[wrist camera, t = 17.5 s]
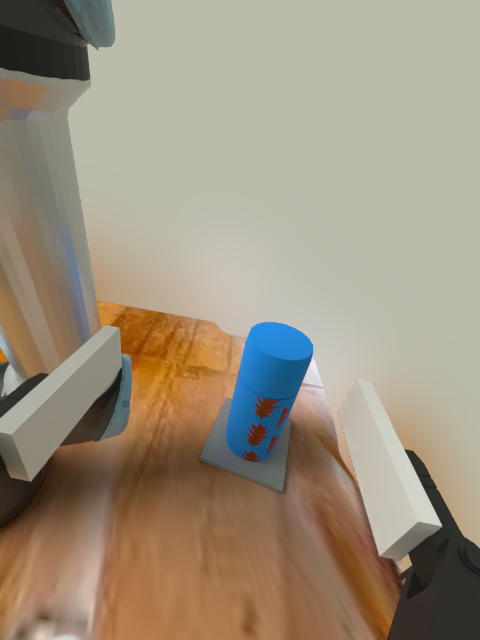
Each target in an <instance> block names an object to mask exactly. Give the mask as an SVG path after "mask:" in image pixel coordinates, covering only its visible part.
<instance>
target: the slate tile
mask: <svg viewBox="0 0 480 640" xmlns="http://www.w3.org/2000/svg"><path fill="white" fill-rule="evenodd" d="M231 403H232V399H230V398H226V400H225V402H224V405H223V407H222V409H221V411H220V413H219V416H218V418H217V420H216V422H215V424H214V427H213V429H212V431H211V433H210V435H209V438H208V440H207V442H206V444H205V446H204V448H203V451H202V453H201V455H200V458H199V460H200V461H202V462H205V463H207V464H210V465H212V466H215V467H217V468H220V469H222V470H225V471H227V472H230V473H232V474H235V475H237V476H239V477H242V478H244V479H247V480H249V481H252V482H254V483H257V484H259V485H262V486H264V487H267V488H269V489H272V490H274V491H276V492H279V493H282V491H283V486H284V478H285V470H286V463H287V455H288V447H289V439H290V431H291V423H292V420H289V419H287V421H286V423H285V426H284V428H283V431H282V433H281V436H280V438H279V440H278V442H277V444H276V446H275V448H274V450H273V451H272V453H271V454H270V456H269V457H267V458H265V459H264V460H262V461H256V462H252V461H247V460H243V459H242V458H240V457H238V456H236V455H235V454H234V453H233V452H232V451H231V449H230V448H229V446H228V444H227V441H226V427H227V420H228V416H229V412H230V407H231Z"/></svg>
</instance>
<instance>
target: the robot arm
mask: <svg viewBox="0 0 480 640" xmlns="http://www.w3.org/2000/svg"><path fill="white" fill-rule="evenodd" d="M114 28H115V27H114V17H113V12H112V5H111V0H0V347H1V349H2V351H3V352H4V354H5V356H6V357H7V359H8V361H9V362H0V528H1V527H2V526H4V525H5V524H7V523H8V522H9V521H11V520H12V519H13V518H14V517H15V516H17V515H18V514H19V513H20V512H21V511H22V510H23V509H24V508H25V507H26V506H27V505H28V504H29V503H30V501H31V500H32V499H33V498H34V496H35V495H36V493H37V492H38V490H39V489H40V487H41V485H42V483H43V481H44V478H45V475H46V472H47V461H48V459H49V458H50V457H51V456H52V454H53V453H54V452H55V451H56V449H57V448H58V447H60V446H66V445H71V444H77V443H83V442H89V441H95V442H97V441H100V440H103V439H104V438H109V437H114V436H117V435H119V434H121V433H122V432H123V431H124V430H125V428H126V426H127V423H128V419H129V412H130V398H131V388H132V363H131V358H130V357H129V356H128V355H126V354H121V343H120V328H118V327H113V326H108V325H105V326H104V327H103V328H102V329H101V325H100V319H99V313H98V307H97V300H96V294H95V288H94V281H93V275H92V269H91V263H90V256H89V250H88V244H87V238H86V231H85V226H84V219H83V213H82V207H81V200H80V195H79V187H78V181H77V175H76V169H75V162H74V156H73V151H72V144H71V137H70V131H69V125H68V119H67V117H68V109H69V108H70V107H71V106H72V105H73V104H74V103H75V102H76V101H77V99H78V98H79V97H80V96H81V95H82V94H83V93H84V92H85V91H86V90H87V89H88V88H89V87H90V86H91V81H90V71H89V61H88V51H87V44H91V45H92V46H93V47H95V48H96V49H97V50H98V48H99V47H110V46H112V45H113V43H114V40H115V29H114ZM338 415H339V418H340V422H341V425H342V429H343V432H344V436H345V439H346V442H347V446H348V449H349V453H350V456H351V460H352V463H353V467H354V470H355V473H356V477H357V480H358V484H359V487H360V491H361V494H362V498H363V501H364V505H365V508H366V512H367V515H368V519H369V522H370V525H371V529H372V532H373V536H374V539H375V543H376V546H377V550H378V553H379V556H381V557H385V558H390V559H395V560H399V561H400V560H401V559H402V558H404V557H405V556H406V555H407V554H409V557H410V560H411V562H412V566H411V567H409V568H408V569H407V570H405V571H404V572H403V573H401V574H400V576H399V577H398V578H399V579H400V580H401V581H402V580H403V579H405V578H406V580H405V583H404V586H403V589H402V593H401V596H400V599H399V602H398V605H397V609H396V612H395V615H394V618H393V622H392V625H391V628H390V631H389V634H388V638H387V640H480V548H478V546H477V545H475V544H474V543H473V542H471V541H470V540H468V539H467V538H465V537H464V536H463V535H462V533H461V531H460V530H459V528H458V526H457V524H456V522H455V520H454V518H453V517H452V515H451V513H450V511H449V509H448V507H447V506H446V504H445V502H444V500H443V498H442V496H441V494H440V492H439V491H438V490H437V487H436V485H435V483H434V481H433V480H432V479H431V476H430V474H429V472H428V470H427V468H426V467H425V465H424V463H423V462H422V461H421V460H420V458H419V457H418V456H417V455H416V454H415V453H414V452H413V451H410V450H406V449H404V448H403V446H402V444H401V442H400V440H399V438H398V436H397V434H396V432H395V430H394V428H393V426H392V424H391V422H390V420H389V418H388V416H387V413H386V412H385V410H384V408H383V405H382V403H381V401H380V399H379V397H378V395H377V393H376V391H375V389H374V387H373V385H372V383H371V381H368V380H362V379H358V378H356V380H355V382H354V384H353V386H352V387H351V389H350V391H349V393H348V395H347V397H346V399H345V401H344V402H343V404H342V406H341V408H340V410H339V411H338Z"/></svg>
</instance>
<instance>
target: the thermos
mask: <svg viewBox="0 0 480 640" xmlns="http://www.w3.org/2000/svg"><path fill="white" fill-rule="evenodd" d="M312 354H313V344H312V343H311V341H310V339H309V338H308V337H307V336H306V335H304V334H303V333H302V332H300V331H299V330H297V329H295V328H293V327H290V326H288V325H285V324H281V323H276V322H264V323H260V324H256V325H255V326H253V327H252V328H251V330H250V332H249V335H248V337H247V340H246V343H245V347H244V352H243V356H242V360H241V365H240V369H239V373H238V377H237V382H236V386H235V390H234V395H233V399H232V403H231V407H230V412H229V416H228V420H227V427H226V441H227V444H228V446H229V448H230V449H231V451H232V452H233V453H234V454H235V455H236V456H238V457H240V458H242V459H243V460H247V461H252V462H256V461H262V460H264V459H265V458H267V457H269V456H270V454H271V453H272V451H273V450H274V448H275V446H276V444H277V442H278V440H279V438H280V436H281V433H282V431H283V428H284V426H285V423H286V421H287V418H288V416H289V413H290V411H291V409H292V406H293V404H294V401H295V399H296V396H297V394H298V391H299V389H300V386H301V384H302V381H303V379H304V377H305V374H306V372H307V369H308V367H309V364H310V362H311V358H312Z"/></svg>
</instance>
